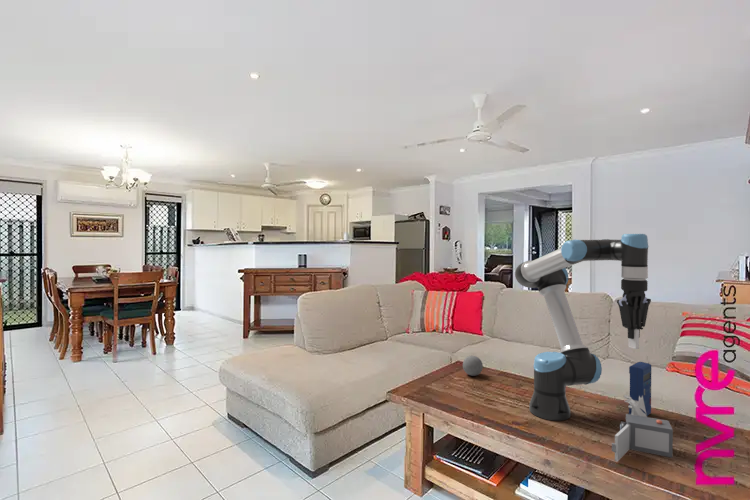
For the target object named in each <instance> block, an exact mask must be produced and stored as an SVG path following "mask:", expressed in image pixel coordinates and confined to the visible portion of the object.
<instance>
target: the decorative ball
mask: <svg viewBox="0 0 750 500" xmlns="http://www.w3.org/2000/svg"><path fill="white" fill-rule="evenodd" d="M483 368H484V365H483V362H482V360H481V359H480V358H479V357H478V356H476V355H469V356H466V357H465V358H464V360H463V362H462V369H463V370H464V371H463V372H464V373H466V374H467V375H469V376H471V377H474V376H478V375H479V374H481V373H482V371H483Z"/></svg>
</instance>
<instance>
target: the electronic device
mask: <svg viewBox="0 0 750 500" xmlns="http://www.w3.org/2000/svg"><path fill="white" fill-rule="evenodd" d="M628 370H629V372H628V373H629V396H630V397H631V398H632V399H633V400H635V401H636V400H637V401H639V396H640V398H642V396H643V401H644V405H645V409H646V413H645V412H644V411H643V410H642V409H641V408H640V409H641V410H642V412H643V413H645V414H647V415H646V416H647V417H648V416H649V415H650V414H651V413H652V364H650V363H649V362H643V361H638V362H635V363H634V364H632V365H630V366H629V368H628ZM629 405H630V404H629V403H628V406H629ZM631 412H632V409H631V408H629V407H628V414H631Z"/></svg>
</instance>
